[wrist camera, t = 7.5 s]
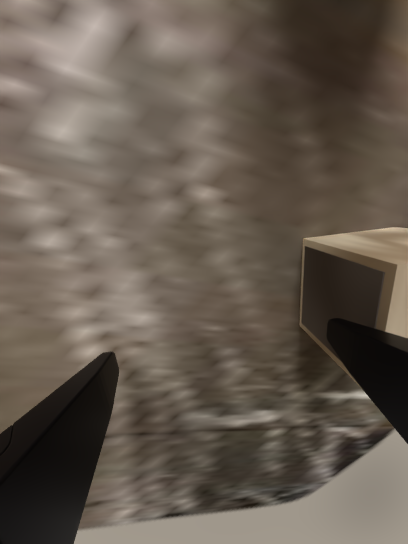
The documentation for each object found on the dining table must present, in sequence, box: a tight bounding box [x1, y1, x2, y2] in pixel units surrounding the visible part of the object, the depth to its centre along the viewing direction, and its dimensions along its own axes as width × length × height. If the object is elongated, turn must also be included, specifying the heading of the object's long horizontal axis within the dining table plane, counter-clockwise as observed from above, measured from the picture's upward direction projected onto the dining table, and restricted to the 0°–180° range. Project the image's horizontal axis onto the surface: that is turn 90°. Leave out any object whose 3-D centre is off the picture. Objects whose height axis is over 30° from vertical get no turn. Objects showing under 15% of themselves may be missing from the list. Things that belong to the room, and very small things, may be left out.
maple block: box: [299, 227, 408, 386], centre depth 11 cm, size 6×6×6 cm
